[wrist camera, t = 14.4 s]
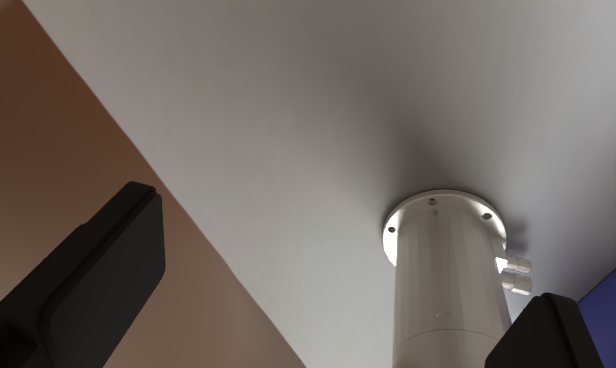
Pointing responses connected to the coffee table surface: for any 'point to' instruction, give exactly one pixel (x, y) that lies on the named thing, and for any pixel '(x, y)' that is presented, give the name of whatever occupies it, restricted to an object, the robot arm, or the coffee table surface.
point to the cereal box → (602, 318)
